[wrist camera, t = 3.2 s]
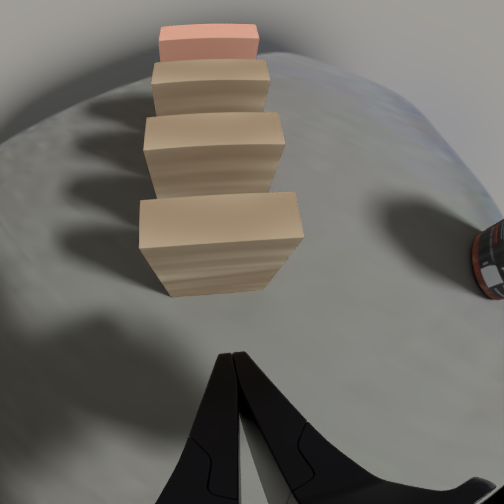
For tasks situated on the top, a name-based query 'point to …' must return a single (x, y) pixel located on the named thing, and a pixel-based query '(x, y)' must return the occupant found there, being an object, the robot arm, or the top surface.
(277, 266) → the domino
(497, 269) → the supplement bottle
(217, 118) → the domino
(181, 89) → the domino
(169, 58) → the domino
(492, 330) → the top surface
